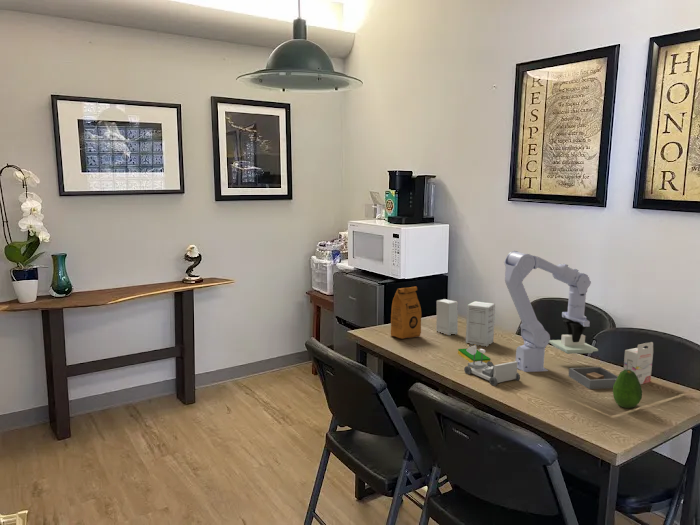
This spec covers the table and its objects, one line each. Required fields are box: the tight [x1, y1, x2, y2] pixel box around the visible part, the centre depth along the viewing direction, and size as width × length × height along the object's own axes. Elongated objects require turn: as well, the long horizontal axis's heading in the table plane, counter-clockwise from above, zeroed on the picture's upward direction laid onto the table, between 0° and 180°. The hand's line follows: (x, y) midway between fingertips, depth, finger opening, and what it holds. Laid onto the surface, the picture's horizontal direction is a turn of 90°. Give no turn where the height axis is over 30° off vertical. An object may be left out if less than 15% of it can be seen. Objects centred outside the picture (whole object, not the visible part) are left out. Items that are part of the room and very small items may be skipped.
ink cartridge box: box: [623, 341, 654, 385], centre depth 184 cm, size 9×5×15 cm, turn 118°
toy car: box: [463, 344, 521, 387], centre depth 189 cm, size 18×10×12 cm
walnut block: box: [586, 372, 604, 380], centre depth 184 cm, size 4×4×2 cm
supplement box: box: [465, 300, 496, 348], centre depth 228 cm, size 10×9×17 cm
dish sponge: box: [457, 347, 491, 363], centre depth 208 cm, size 7×14×2 cm, turn 13°
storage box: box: [568, 366, 618, 390], centre depth 184 cm, size 12×12×4 cm
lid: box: [548, 334, 599, 355], centre depth 199 cm, size 12×12×5 cm
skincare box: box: [435, 298, 459, 336], centre depth 242 cm, size 8×6×15 cm
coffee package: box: [390, 286, 423, 339], centre depth 234 cm, size 10×12×22 cm
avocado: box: [612, 369, 643, 409], centre depth 163 cm, size 8×8×12 cm
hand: (573, 340), depth 199 cm, fingers closed on lid, 2 cm apart
